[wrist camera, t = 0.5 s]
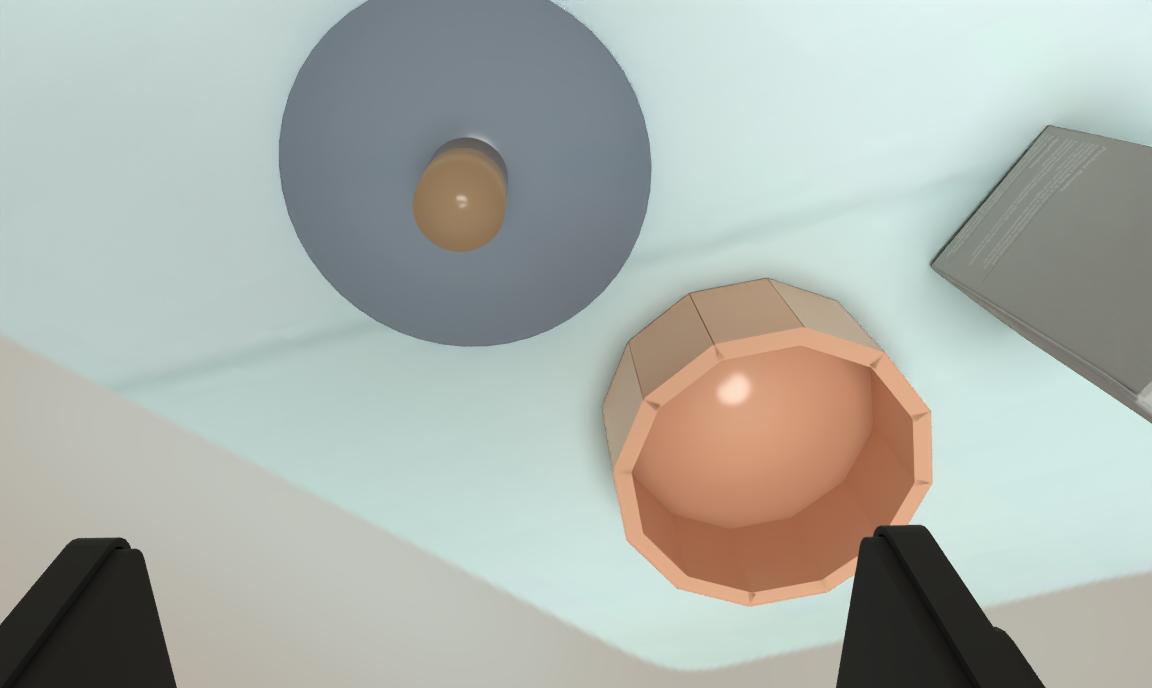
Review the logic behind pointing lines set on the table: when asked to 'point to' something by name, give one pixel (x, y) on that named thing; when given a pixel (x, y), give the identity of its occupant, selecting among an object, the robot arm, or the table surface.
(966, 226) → the skincare box
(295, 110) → the lid
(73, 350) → the table surface
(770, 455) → the bowl
